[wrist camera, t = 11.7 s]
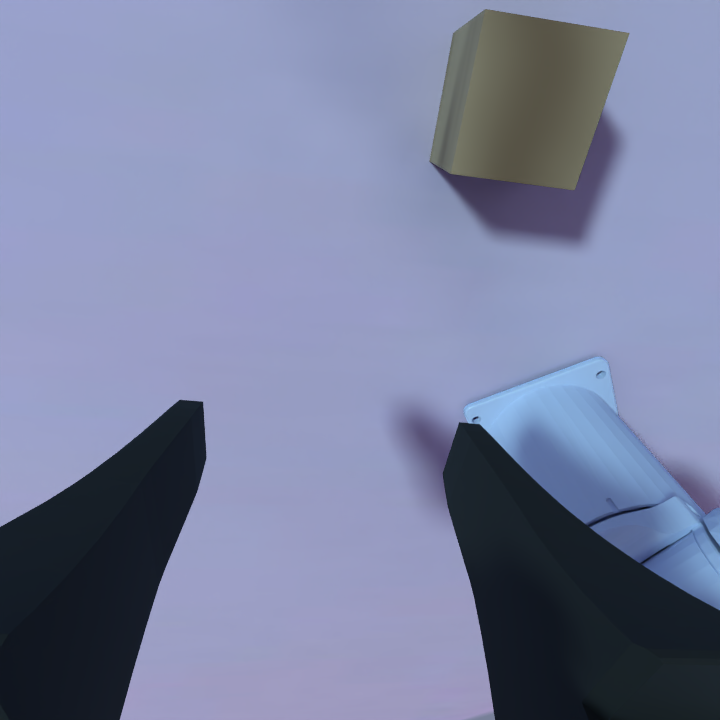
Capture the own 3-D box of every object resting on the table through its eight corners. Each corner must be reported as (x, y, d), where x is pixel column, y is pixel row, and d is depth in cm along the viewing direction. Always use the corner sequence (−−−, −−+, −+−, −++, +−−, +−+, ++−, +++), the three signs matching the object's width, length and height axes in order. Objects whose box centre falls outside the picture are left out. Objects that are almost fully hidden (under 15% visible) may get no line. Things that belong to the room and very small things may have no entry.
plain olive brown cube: (569, 51, 16) (635, 34, 13) (532, 174, 19) (580, 190, 15) (452, 33, 16) (485, 9, 12) (429, 161, 18) (450, 173, 14)
